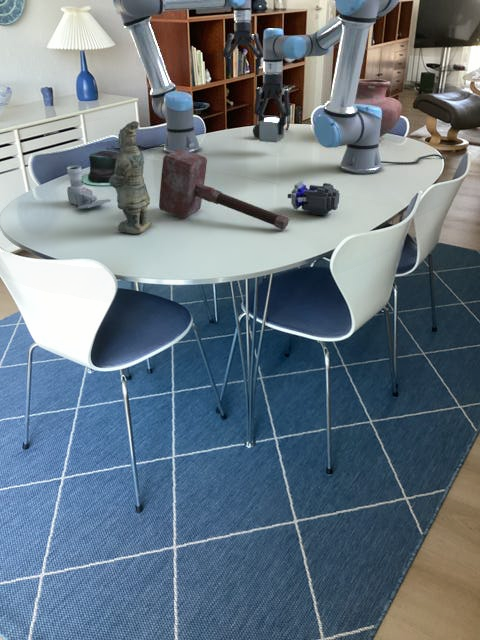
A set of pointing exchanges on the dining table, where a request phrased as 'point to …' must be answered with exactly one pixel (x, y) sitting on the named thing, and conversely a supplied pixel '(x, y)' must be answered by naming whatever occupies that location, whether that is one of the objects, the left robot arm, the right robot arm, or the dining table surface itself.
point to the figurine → (257, 130)
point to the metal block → (270, 130)
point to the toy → (315, 198)
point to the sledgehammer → (200, 190)
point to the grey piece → (80, 190)
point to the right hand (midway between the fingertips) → (271, 133)
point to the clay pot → (379, 102)
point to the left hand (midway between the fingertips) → (243, 74)
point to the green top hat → (101, 168)
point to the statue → (131, 182)
